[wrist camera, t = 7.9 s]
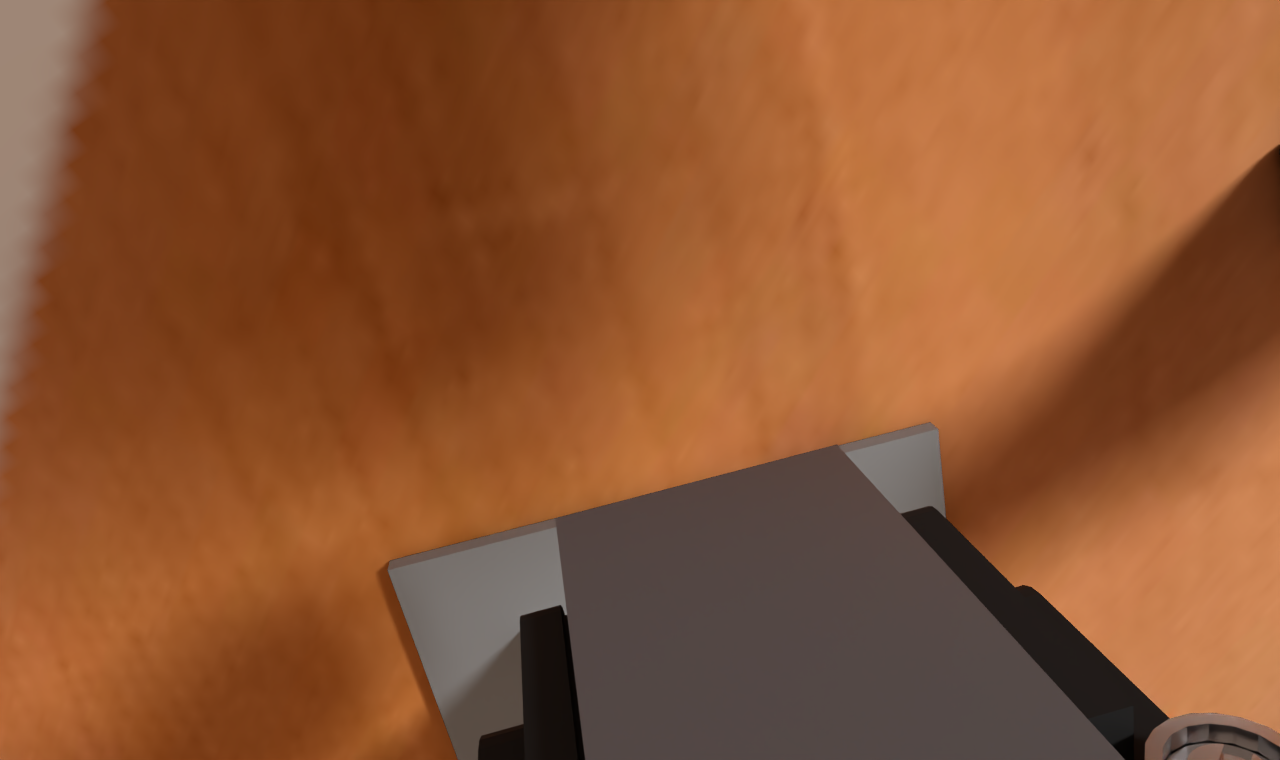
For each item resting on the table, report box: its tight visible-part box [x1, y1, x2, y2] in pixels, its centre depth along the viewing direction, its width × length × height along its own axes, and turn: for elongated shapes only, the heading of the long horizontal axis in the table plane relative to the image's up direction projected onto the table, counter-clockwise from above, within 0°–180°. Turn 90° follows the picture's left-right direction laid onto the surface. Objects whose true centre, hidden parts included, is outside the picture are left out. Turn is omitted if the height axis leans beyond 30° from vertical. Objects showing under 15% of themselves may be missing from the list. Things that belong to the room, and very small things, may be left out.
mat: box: [388, 422, 946, 760], centre depth 29 cm, size 20×16×1 cm
